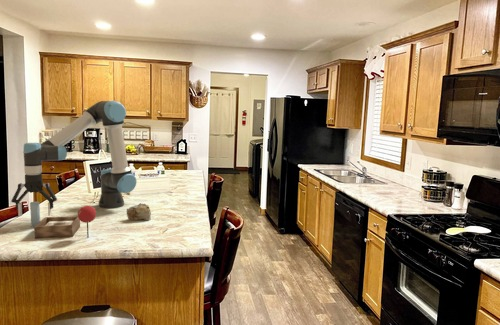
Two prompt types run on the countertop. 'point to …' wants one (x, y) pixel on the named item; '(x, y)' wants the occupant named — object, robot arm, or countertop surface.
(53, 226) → the box
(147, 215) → the rock
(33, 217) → the peg
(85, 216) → the lollipop
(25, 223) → the countertop surface
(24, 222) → the countertop surface
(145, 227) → the countertop surface
